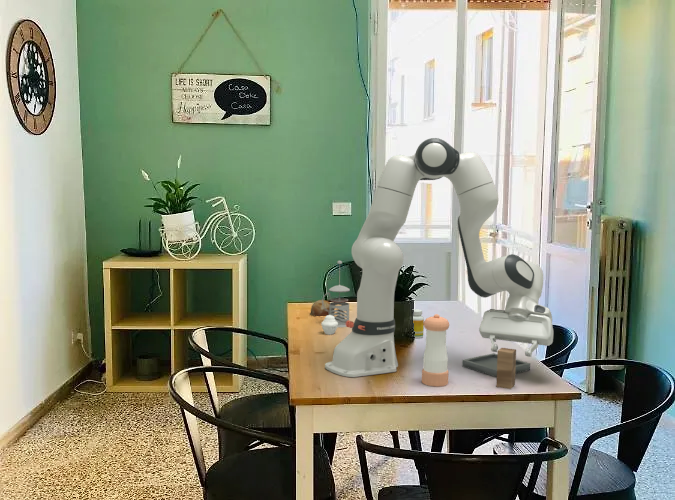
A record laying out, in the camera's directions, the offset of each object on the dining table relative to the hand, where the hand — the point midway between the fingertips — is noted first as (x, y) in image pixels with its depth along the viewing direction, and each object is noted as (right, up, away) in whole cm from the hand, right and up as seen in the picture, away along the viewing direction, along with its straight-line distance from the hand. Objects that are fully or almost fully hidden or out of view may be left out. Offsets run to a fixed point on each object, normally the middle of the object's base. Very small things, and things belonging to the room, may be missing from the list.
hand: (510, 353), depth 181 cm
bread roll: (-54, +1, +91) cm, 106 cm away
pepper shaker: (-21, -8, 0) cm, 23 cm away
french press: (-48, -1, +72) cm, 87 cm away
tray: (-1, -7, +14) cm, 16 cm away
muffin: (-51, -2, +57) cm, 76 cm away
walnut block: (-2, -9, -2) cm, 9 cm away
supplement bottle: (-20, -3, +53) cm, 57 cm away
